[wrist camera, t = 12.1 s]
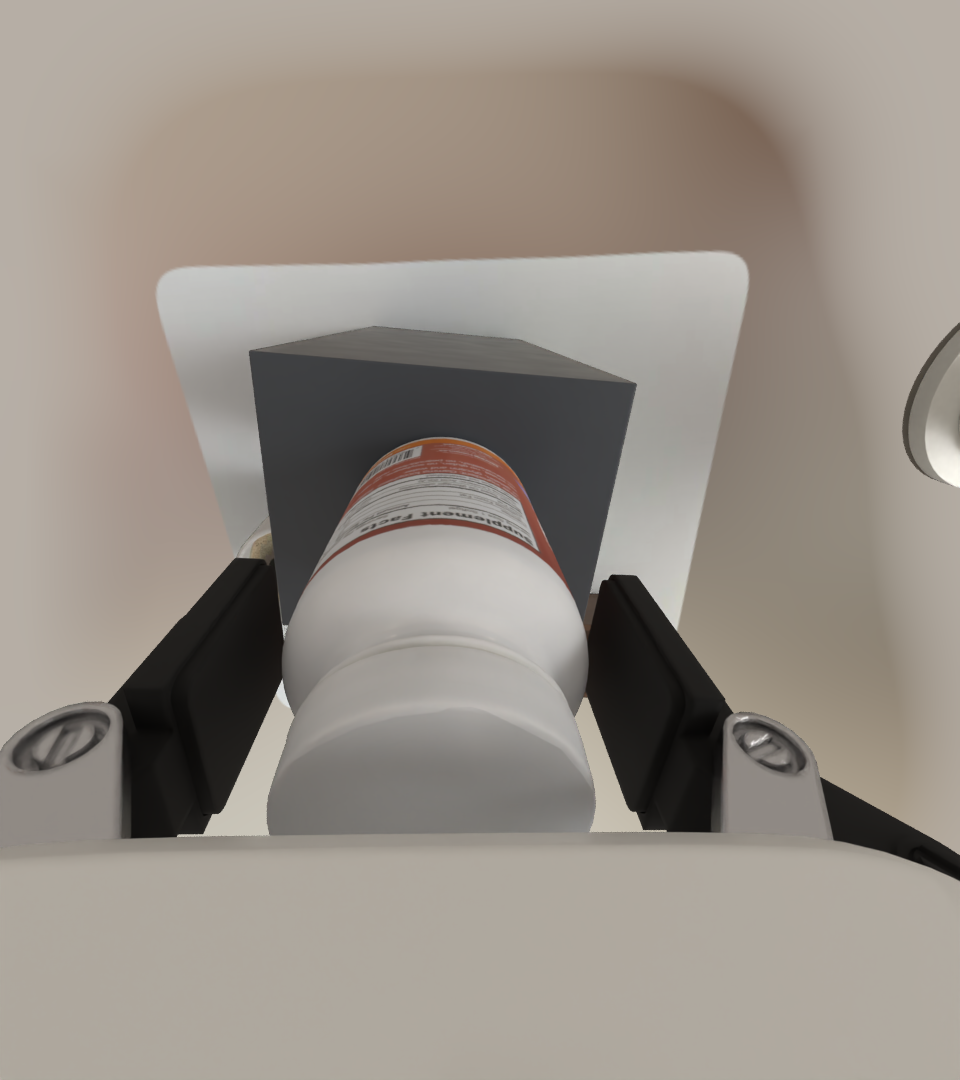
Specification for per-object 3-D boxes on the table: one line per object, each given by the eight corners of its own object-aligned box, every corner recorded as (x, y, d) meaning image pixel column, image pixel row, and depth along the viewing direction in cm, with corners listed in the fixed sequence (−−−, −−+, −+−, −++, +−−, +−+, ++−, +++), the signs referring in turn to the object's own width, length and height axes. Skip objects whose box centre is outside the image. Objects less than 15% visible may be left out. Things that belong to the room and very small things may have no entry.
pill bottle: (499, 606, 18) (560, 956, 8) (341, 573, 17) (196, 931, 7) (553, 458, 16) (735, 709, 6) (372, 408, 15) (213, 613, 5)
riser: (521, 339, 38) (637, 383, 15) (507, 457, 42) (581, 634, 19) (373, 326, 37) (247, 350, 14) (375, 448, 41) (281, 625, 18)
